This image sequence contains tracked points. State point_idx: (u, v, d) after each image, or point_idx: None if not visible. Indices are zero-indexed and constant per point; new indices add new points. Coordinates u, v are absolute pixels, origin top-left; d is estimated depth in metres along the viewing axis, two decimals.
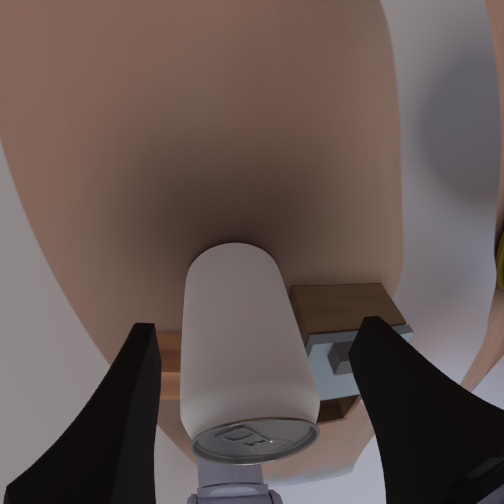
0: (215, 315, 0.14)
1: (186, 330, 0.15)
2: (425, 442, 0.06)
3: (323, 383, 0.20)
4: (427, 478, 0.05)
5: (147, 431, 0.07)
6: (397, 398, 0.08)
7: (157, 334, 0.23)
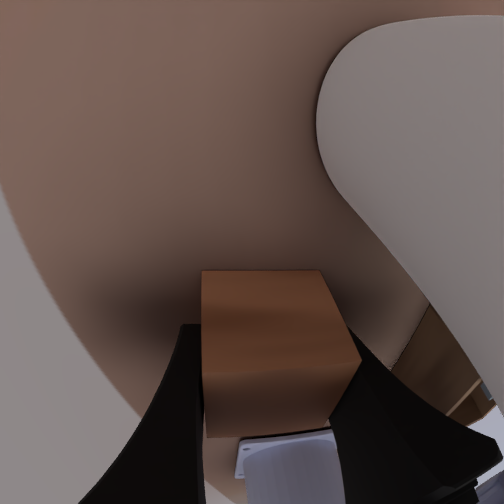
0: None
1: None
2: (379, 458, 0.06)
3: None
4: (381, 497, 0.05)
5: (200, 433, 0.07)
6: (354, 408, 0.08)
7: (208, 275, 0.10)
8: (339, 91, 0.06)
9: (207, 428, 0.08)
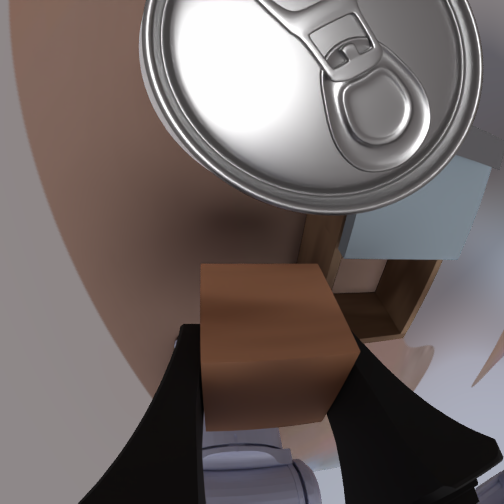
0: None
1: None
2: (379, 458, 0.06)
3: (396, 208, 0.12)
4: (381, 497, 0.05)
5: (200, 433, 0.07)
6: (354, 408, 0.08)
7: (207, 268, 0.10)
8: None
9: (206, 421, 0.08)
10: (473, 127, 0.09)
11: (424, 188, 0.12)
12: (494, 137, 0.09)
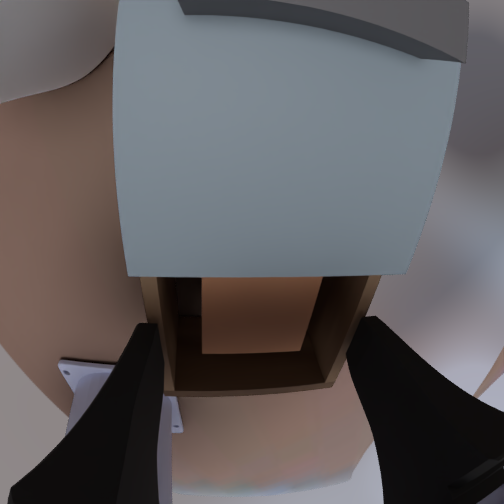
0: None
1: None
2: (422, 443, 0.06)
3: (206, 172, 0.06)
4: (424, 479, 0.05)
5: (151, 431, 0.07)
6: (395, 399, 0.08)
7: None
8: None
9: (203, 340, 0.11)
10: None
11: (275, 120, 0.06)
12: None
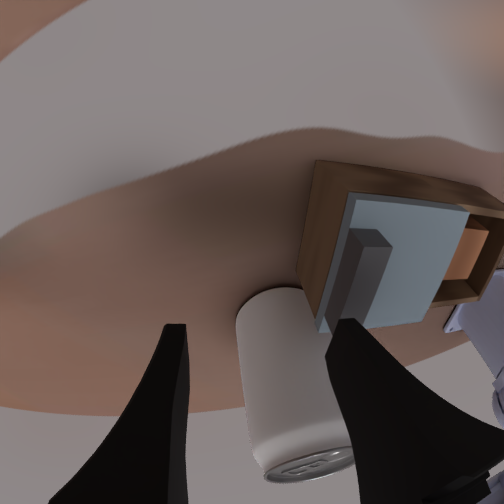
0: None
1: None
2: (396, 453, 0.06)
3: (400, 301, 0.16)
4: (398, 490, 0.05)
5: (182, 432, 0.07)
6: (370, 405, 0.08)
7: None
8: None
9: (461, 278, 0.18)
10: (348, 300, 0.13)
11: (392, 284, 0.15)
12: (358, 269, 0.12)
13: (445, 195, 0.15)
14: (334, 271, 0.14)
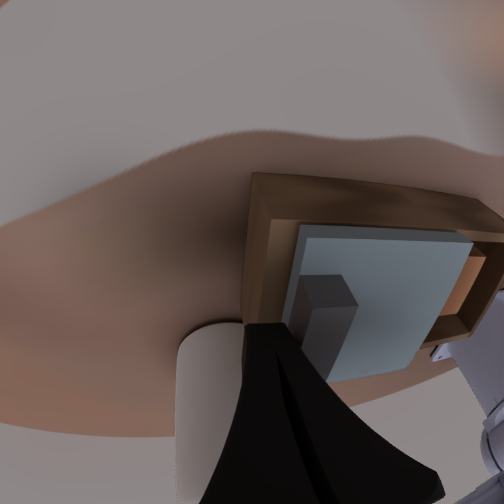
0: None
1: None
2: None
3: (378, 352, 0.12)
4: None
5: None
6: None
7: None
8: None
9: (448, 314, 0.15)
10: None
11: (366, 335, 0.12)
12: (307, 335, 0.09)
13: (427, 216, 0.11)
14: None
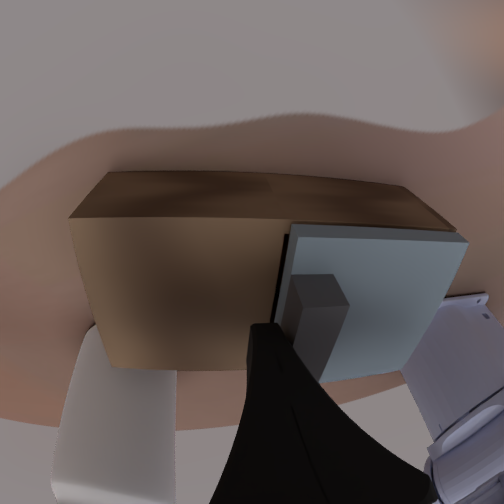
0: None
1: None
2: None
3: (373, 352, 0.12)
4: None
5: None
6: None
7: None
8: None
9: None
10: None
11: (360, 335, 0.12)
12: (298, 334, 0.09)
13: (278, 206, 0.10)
14: None
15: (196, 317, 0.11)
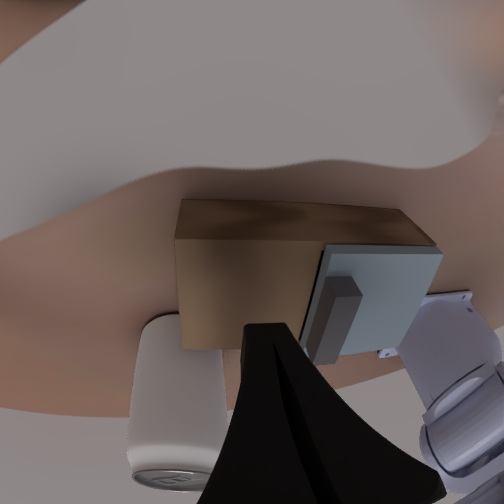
0: None
1: None
2: (305, 476, 0.06)
3: (376, 332, 0.17)
4: None
5: None
6: (288, 418, 0.07)
7: None
8: None
9: None
10: (323, 337, 0.15)
11: (367, 318, 0.17)
12: (331, 314, 0.14)
13: (316, 231, 0.15)
14: (313, 310, 0.16)
15: (257, 307, 0.16)
